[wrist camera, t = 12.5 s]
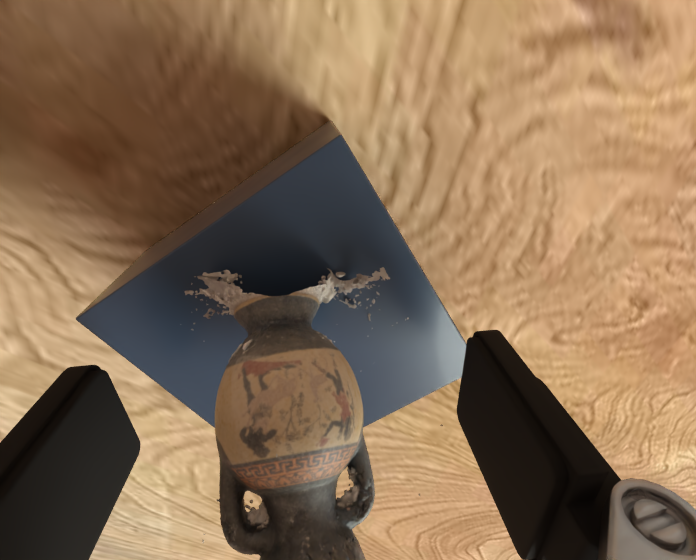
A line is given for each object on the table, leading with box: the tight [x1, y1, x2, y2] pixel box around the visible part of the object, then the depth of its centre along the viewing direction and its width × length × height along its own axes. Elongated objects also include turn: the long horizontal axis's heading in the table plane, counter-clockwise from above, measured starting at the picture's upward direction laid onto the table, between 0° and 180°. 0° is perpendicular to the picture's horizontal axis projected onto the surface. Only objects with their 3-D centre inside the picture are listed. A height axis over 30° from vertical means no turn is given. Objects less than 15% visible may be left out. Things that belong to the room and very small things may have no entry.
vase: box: [180, 267, 443, 560], centre depth 8 cm, size 5×5×6 cm
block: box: [76, 120, 467, 428], centre depth 13 cm, size 9×9×5 cm
